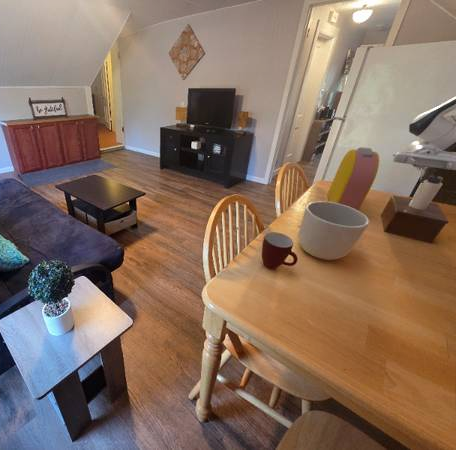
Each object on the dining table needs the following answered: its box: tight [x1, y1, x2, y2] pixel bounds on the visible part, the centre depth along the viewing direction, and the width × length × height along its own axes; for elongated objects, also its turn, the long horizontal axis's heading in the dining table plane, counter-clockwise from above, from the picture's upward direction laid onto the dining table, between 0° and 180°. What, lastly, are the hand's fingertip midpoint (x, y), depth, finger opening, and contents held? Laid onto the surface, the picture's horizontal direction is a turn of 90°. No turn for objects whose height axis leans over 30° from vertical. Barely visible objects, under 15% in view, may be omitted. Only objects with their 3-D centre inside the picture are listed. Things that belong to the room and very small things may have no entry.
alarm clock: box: [327, 146, 380, 211], centre depth 108 cm, size 21×9×26 cm, turn 154°
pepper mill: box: [409, 174, 444, 210], centre depth 90 cm, size 5×5×12 cm
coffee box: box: [380, 197, 446, 244], centre depth 96 cm, size 16×14×9 cm
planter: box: [298, 200, 370, 261], centre depth 81 cm, size 17×17×15 cm
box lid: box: [390, 195, 449, 225], centre depth 93 cm, size 16×14×1 cm
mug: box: [261, 231, 299, 270], centre depth 75 cm, size 11×8×10 cm
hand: (430, 165), depth 94 cm, fingers open, 8 cm apart
